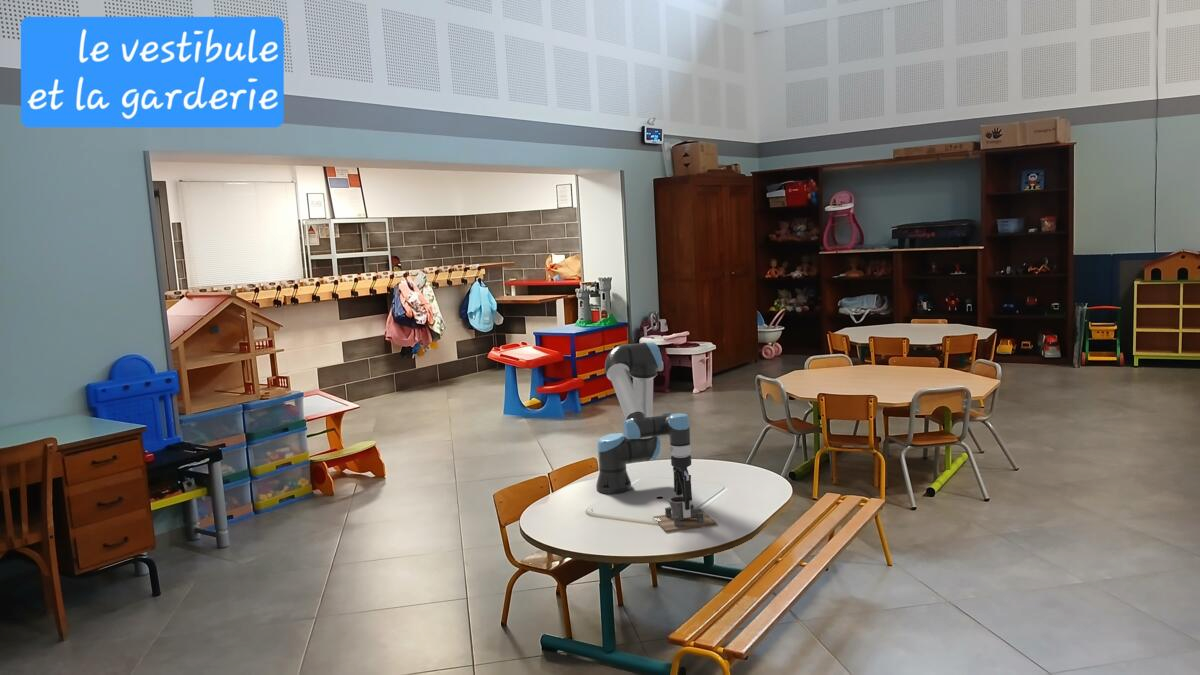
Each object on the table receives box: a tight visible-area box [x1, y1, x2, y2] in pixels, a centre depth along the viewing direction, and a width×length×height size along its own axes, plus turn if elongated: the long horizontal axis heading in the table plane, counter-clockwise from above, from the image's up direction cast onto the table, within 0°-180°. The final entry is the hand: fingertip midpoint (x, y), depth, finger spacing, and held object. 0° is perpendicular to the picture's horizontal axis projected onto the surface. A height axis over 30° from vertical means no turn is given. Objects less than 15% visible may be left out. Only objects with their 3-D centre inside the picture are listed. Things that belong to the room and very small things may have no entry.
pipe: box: [667, 495, 704, 520], centre depth 324 cm, size 6×13×8 cm, turn 81°
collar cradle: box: [652, 503, 718, 533], centre depth 325 cm, size 16×20×4 cm
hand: (684, 514), depth 325 cm, fingers closed on pipe, 6 cm apart
